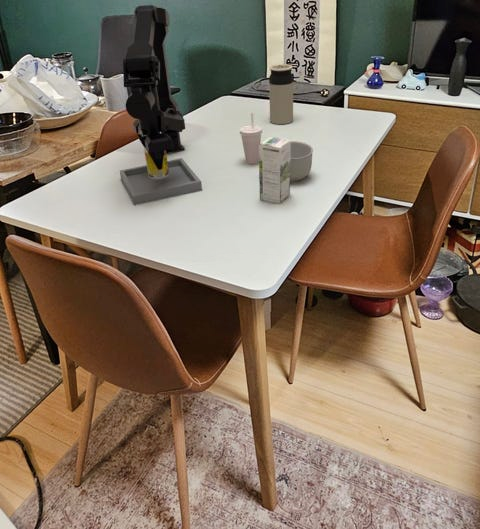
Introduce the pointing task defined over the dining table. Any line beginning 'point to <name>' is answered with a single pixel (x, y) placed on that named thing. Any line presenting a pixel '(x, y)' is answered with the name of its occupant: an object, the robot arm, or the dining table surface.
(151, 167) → the supplement bottle
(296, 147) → the teacup
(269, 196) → the syrup box
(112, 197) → the dining table surface
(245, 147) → the smoothie
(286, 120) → the travel mug
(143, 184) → the tray
